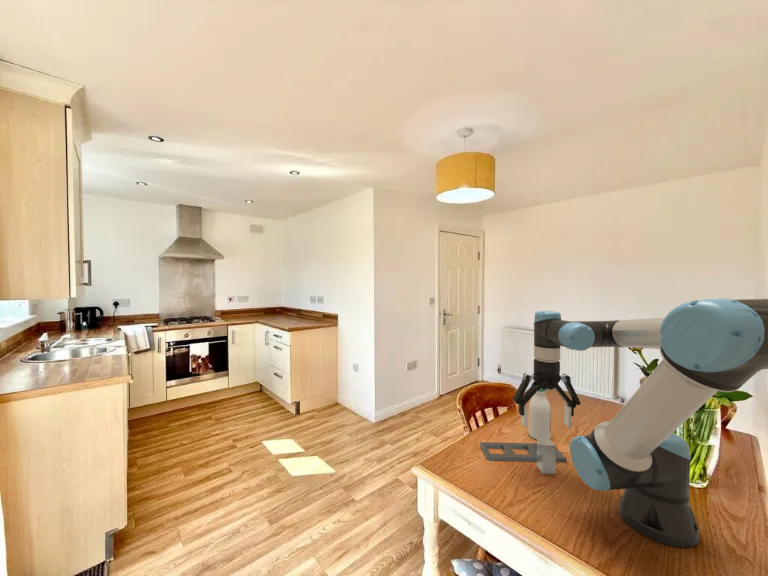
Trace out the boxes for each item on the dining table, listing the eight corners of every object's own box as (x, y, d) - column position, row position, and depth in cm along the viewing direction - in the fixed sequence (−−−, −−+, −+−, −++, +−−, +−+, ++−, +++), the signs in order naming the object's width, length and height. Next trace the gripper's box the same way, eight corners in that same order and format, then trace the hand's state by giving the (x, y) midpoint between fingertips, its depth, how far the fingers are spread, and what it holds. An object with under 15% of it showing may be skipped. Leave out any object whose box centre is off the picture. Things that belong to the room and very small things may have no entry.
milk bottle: (548, 443, 120) (548, 390, 119) (526, 437, 124) (526, 386, 124) (552, 435, 126) (552, 385, 126) (531, 430, 130) (531, 381, 130)
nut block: (555, 474, 100) (555, 445, 100) (542, 473, 100) (542, 445, 100) (549, 466, 104) (549, 439, 104) (536, 466, 104) (537, 439, 104)
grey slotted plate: (566, 462, 107) (566, 458, 107) (487, 460, 108) (487, 456, 108) (551, 446, 117) (551, 443, 117) (480, 445, 118) (480, 442, 118)
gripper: (580, 357, 105) (578, 421, 106) (503, 356, 106) (502, 419, 107) (594, 363, 98) (592, 431, 98) (511, 362, 99) (510, 430, 99)
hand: (545, 425), depth 103 cm, fingers open, 13 cm apart
